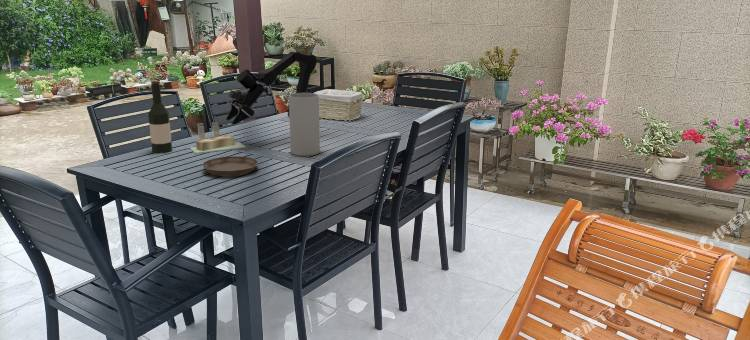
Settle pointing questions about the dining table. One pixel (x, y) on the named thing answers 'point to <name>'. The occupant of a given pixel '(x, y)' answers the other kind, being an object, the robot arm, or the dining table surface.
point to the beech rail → (214, 143)
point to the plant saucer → (230, 165)
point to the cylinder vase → (304, 124)
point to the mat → (236, 146)
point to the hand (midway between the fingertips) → (229, 121)
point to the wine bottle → (159, 123)
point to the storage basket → (339, 104)
